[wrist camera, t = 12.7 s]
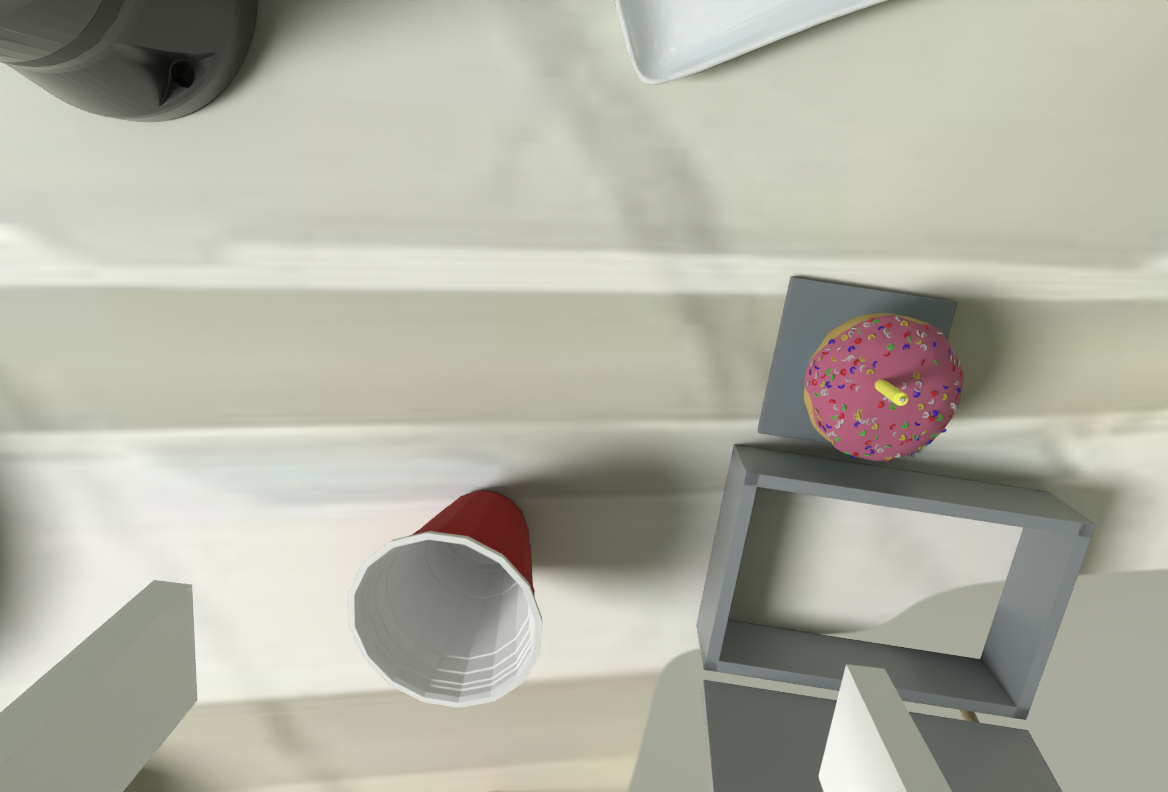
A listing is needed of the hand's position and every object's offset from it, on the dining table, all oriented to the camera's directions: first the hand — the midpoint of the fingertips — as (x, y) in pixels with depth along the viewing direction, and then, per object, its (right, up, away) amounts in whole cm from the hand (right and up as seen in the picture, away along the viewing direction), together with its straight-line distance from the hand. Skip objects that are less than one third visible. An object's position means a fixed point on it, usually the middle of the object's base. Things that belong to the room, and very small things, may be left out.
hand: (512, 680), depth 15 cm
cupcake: (+18, +7, +31) cm, 37 cm away
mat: (+18, +7, +32) cm, 37 cm away
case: (+20, -7, +36) cm, 42 cm away
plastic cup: (-5, -3, +36) cm, 37 cm away
